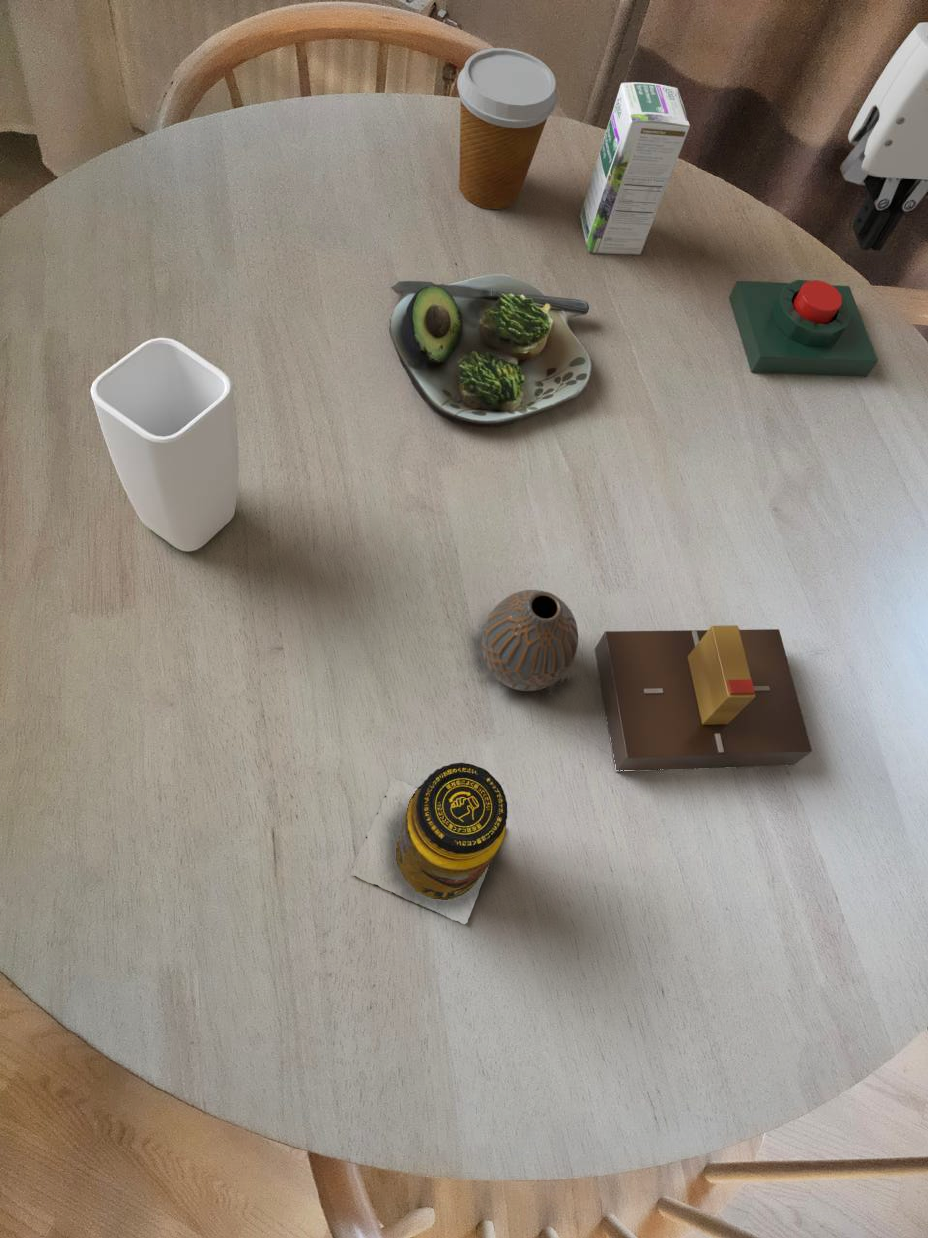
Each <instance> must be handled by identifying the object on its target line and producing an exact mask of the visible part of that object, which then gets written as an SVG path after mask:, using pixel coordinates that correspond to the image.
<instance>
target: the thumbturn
mask: <svg viewBox="0 0 928 1238" xmlns="http://www.w3.org/2000/svg"><path fill="white" fill-rule="evenodd" d="M739 628H740V627H739V625H737V624H736V625H711V626H710V627H709V629H707V630H708V631H707V632H706V634H705V635H704V636H703V638H702V639H701V640H700V641H699V643H698V644H697V645H696V646H695V648H694V649H693V650H692V652H691V653H690V654H689V655H688V662H689V666H690V671H691V675H692V680H693V685H694V689H695V694H696V698H697V703H698V707H699V712H700V717H701V721H702V725H715V724H728V723H729V722H730V721H731V720H732V719H734V718H735V717H736V716H737V715H738V714H739V713H740V712H741V711H742V710H743V709H744V708H745V707H746V706H747V705H748V704H749V703H750V702H751V701H752V700H753V699H754V698H755V692H754V688H753V684H752V680H751V676H750V672H749V668H748V664H747V660H746V656H745V652H744V648H743V644H742V640H741V636H740V632H739V630H740V629H739Z"/></svg>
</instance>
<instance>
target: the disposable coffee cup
mask: <svg viewBox="0 0 928 1238" xmlns="http://www.w3.org/2000/svg"><path fill="white" fill-rule="evenodd" d="M556 84H557V83H556V78H555V75H554V73H553V71H552V70H551V69H550V68H549V66H547V65H546V63H545V62H543V61H541V60H540V59H539V58H537V57H535V56H533V55H531V54H530V53H527V52H523V51H521V50H518V49H513V48H507V47H492V48H491V47H490V48H486V49H482V50H480V51H477V52H475V53H474V54H472V55H470V57H469V58H468V59H467V60H466V61H465V64H464V67H462V69H461V70H460V72H459V74H458V76H457V80H456V85H457V86H456V89H457V91H458V95H459V98H460V103H459V104H460V109H459V111H460V112H459V113H460V114H459V117H460V120H459V125H460V126H459V177H458V187H459V191H460V193H461V194H462V196H463V197H464V198H465V199H466V200H467V201H468V202H470V203H471V204H472V205H475V206H477V207H481V208H482V209H483V208H484V209H487V210H488V209H489V210H502V209H507V208H509V207H511V206H512V205H514V204H515V203H516V202H517V201H518V199H519V198H520V194H521V192H522V189H523V187H524V183H525V180H526V177H527V174H528V172H529V170H530V166H531V164H532V161H533V158H534V156H535V153H536V151H537V148H538V145H539V142H540V139H541V137H542V134H543V131H544V129H545V126H546V124H547V121H548V118H549V117H550V116H551V114H552V113H553V112H554V111H555V108H556V106H557V104H558V98H559V96H558V90H557V85H556Z"/></svg>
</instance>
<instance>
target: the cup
mask: <svg viewBox="0 0 928 1238" xmlns="http://www.w3.org/2000/svg"><path fill="white" fill-rule="evenodd" d="M89 390H90V391H89V392H90V395H91V398H92V403H93V405H94V408H95V412H96V416H97V419H98V422H99V425H100V429H101V432H102V435H103V438H104V441H105V443H106V447H107V449H108V452H109V455H110V458H111V461H112V463H113V465H114V466H113V467H114V468H115V470H116V473H117V475H118V479H119V480H120V483H121V485H122V487H123V489H124V491H125V493H126V496H127V498H128V500H129V501H130V503H131V505H132V507H133V509H134V510H135V513H136V514H137V516H138V517H139V520H140V521H141V523H143V524H144V526H145V527H146V528H148V529H150V530H151V531H152V532H153V533H155V534H156V535H158V536H159V537H160V538H162V539H163V540H165V542H167V543H168V544H170V545H171V546H173V547H174V548H176V549H177V550H180V551H182V552H194V551H197V550H199V549H200V548H202V547H204V546H205V545H206V544H207V543H208V542H209V541H210V540H211V539H212V538H214V537H215V536H216V534H218V533H219V532H220V531H221V530H223V528H225V526H227V525H228V524H229V523H230V522H231V520H232V519H233V518H234V516H235V511H236V504H237V497H238V487H239V486H238V485H239V472H240V468H239V467H240V466H239V465H240V464H239V463H240V462H239V437H238V436H239V435H238V433H239V432H238V421H237V413H236V411H237V410H236V402H235V394H234V385H233V383H232V380H231V378H230V377H229V375H228V374H226V373H225V372H224V371H223V370H222V369H220V368H219V367H217V366H216V365H214V364H212V363H211V362H210V361H208V360H207V359H205V358H203V356H201V355H199V354H198V353H196V352H195V351H193V350H192V349H190V348H189V347H188V346H186V345H184V344H183V343H182V342H180V341H177V340H175V339H173V338H167V337H157V338H151V339H149V340H147V341H145V342H143V343H141V344H140V345H138V346H137V347H136V348H134V349H133V350H132V351H130V352H129V353H127V354H126V355H125V356H124V357H122V358H120V360H118V361H117V362H116V363H114V364H113V365H112V366H110V367H109V368H107V369H106V370H105V371H103V372H102V373H101V374H100V375H98V376H97V377H96V378H95V379H94V381H92V384H91V387H90V389H89Z"/></svg>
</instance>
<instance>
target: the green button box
mask: <svg viewBox="0 0 928 1238" xmlns="http://www.w3.org/2000/svg"><path fill="white" fill-rule="evenodd" d="M808 281H811V279H810V280H809V279H796V280H794V281H791V282H776V281H775V282H774V281H758V280H757V281H755V280H736V282H735V284H734V285H733V288H732V290H731V292H730V294H729V296H728V299H729V303H730V306H731V309H732V313H733V317H734V320H735V322H736V326H737V330H738V333H739V337H740V339H741V344H742V346H743V349H744V352H745V353H744V354H745V355H746V359H747V363H748V366H749V369H750V370H749V371H750V373H751V374H773V375H774V374H775V375H800V376H805V375H806V376H828V377H830V376H832V377H857V378H859V377H861V378H867V377H868V376H869V374H870V373H871V372H872V371H873V369H874V368H875V366H876V365H877V364H878V362H879V359H878V357H877V355H876V351H875V349H874V347H873V345H872V341H871V339H870V336H869V334H868V331H867V328H866V326H865V323H864V321H863V318H862V316H861V313H860V311H859V308H858V305H857V301H856V299H855V298H854V295H853V292H852V289H851V287H850V286H849V285H833V284H831V285H832V286H833V287H834V288H836V289H837V290H838V292H839V293H840V295H841V297H842V304H841V306H840V308H839V309H838V311H837V312H836V314H835V315H834V317H833V319H832V320H831V321H830V322H828V323H826V324H817V323H813V322H811V321H809V320H806V319H804V318H803V317H802V316H801V315H800V314H798V313H797V312H796V311H795V309H794V305H793V304H794V300H795V298H796V296H797V294H798V293H799V291H800V289H801V287H802V286H803V284H805V283H806V282H808Z"/></svg>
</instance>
